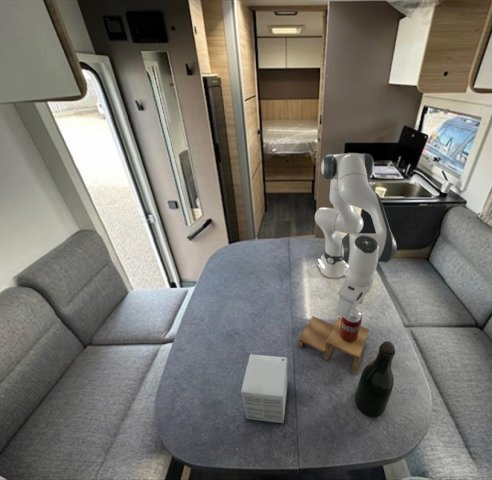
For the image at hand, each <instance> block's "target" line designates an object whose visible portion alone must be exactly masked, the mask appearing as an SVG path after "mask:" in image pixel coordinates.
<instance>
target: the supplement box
mask: <svg viewBox="0 0 492 480" xmlns="http://www.w3.org/2000/svg"><path fill="white" fill-rule="evenodd" d="M247 361H248V362H247V366H246V370H245V374H244V378H243V382H242V387H241V389H240V390H241V391H240V393H241V398H242V403H243V408H244V413H245V419H247V420H253V421H262V422H271V423H277V424H278V423H280V424H284V421H285V411H286V403H287V395H288V394H287V393H288V386H289V385H288V380H289V379H288V357H285V356H273V355H265V354H264V355H263V354H262V355H261V354H252V353H251V354H249V358H248V360H247Z"/></svg>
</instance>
